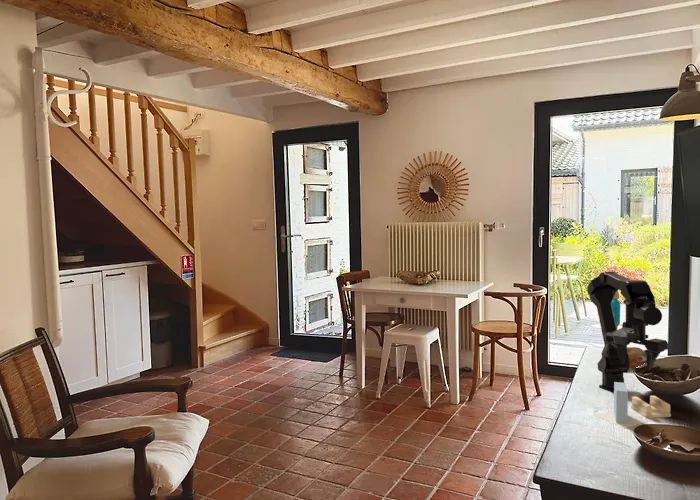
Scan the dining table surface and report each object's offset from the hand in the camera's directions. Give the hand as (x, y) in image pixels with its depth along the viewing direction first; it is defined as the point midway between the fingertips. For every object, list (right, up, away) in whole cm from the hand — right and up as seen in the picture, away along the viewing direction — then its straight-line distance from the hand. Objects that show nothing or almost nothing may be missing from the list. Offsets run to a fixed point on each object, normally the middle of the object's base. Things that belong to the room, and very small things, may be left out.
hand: (635, 366), depth 176 cm
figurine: (+18, -8, +50) cm, 54 cm away
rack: (+2, -13, -6) cm, 15 cm away
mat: (-10, -14, -10) cm, 20 cm away
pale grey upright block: (-10, -14, -10) cm, 19 cm away
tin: (+17, -9, +39) cm, 43 cm away
